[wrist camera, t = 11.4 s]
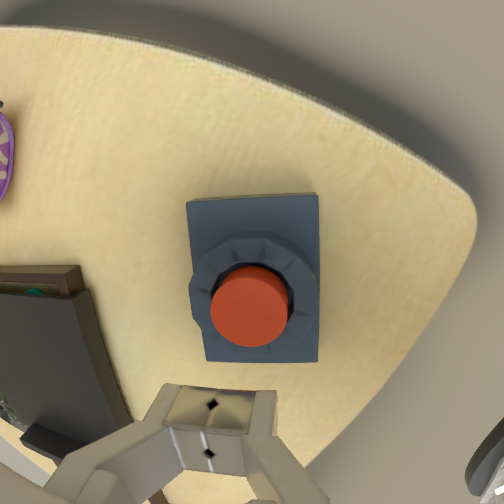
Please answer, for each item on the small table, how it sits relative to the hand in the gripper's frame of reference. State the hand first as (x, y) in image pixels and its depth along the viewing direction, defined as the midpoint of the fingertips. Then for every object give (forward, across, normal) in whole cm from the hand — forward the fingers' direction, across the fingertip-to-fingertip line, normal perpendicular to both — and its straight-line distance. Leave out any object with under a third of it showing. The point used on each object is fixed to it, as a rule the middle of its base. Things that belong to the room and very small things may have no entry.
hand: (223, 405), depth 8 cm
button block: (+12, 0, +1) cm, 12 cm away
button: (+8, 0, +1) cm, 9 cm away
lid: (+12, +21, +10) cm, 26 cm away
